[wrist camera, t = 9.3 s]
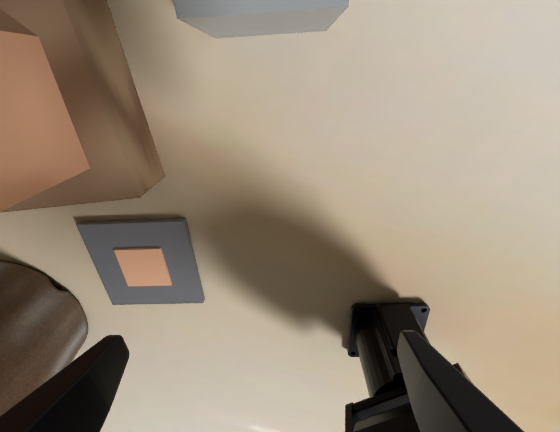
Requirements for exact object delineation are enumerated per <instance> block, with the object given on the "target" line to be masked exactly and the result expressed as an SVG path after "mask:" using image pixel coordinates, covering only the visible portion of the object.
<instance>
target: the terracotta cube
mask: <svg viewBox="0 0 560 432" xmlns="http://www.w3.org/2000/svg"><path fill="white" fill-rule="evenodd" d="M88 169H90V167H89V164H88V161H87V159H86V156H85V154H84V151H83V149H82V146H81V144H80V141H79V139H78V136H77V133H76V131H75V128H74V126H73V123H72V121H71V118H70V116H69V113H68V111H67V108H66V106H65V103H64V100H63V98H62V95H61V93H60V90H59V88H58V85H57V83H56V80H55V78H54V75H53V73H52V70H51V67H50V65H49V62H48V60H47V57H46V55H45V52H44V50H43V47H42V45H41V42H40V39H39V37H38V36H32V35H26V34H19V33H12V32H6V31H0V212H1V211H3V210H5V209H7V208H9V207H11V206H13V205H15V204H17V203H20V202H22V201H24V200H26V199H28V198H30V197H32V196H34V195H36V194H38V193H40V192H42V191H45V190H47V189H49V188H51V187H53V186H55V185H57V184H59V183H61V182H63V181H65V180H67V179H69V178H72V177H74V176H76V175H78V174H80V173H82V172H84V171H86V170H88Z"/></svg>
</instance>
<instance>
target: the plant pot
mask: <svg viewBox="0 0 560 432" xmlns="http://www.w3.org/2000/svg"><path fill="white" fill-rule="evenodd" d="M87 334H88V323H87V318H86V315H85V313H84V311H83V309H82V307H81V305H80V304H79V302H78V301H77V300H76V299H75V298H74V297H73V295H72V294H71V293H70V292H68V291H61V290H58V289H56V288H55V287H54V286H53V285H52V284H51V283H50V281H49V278H48V277H47V276H46V275H44V274H42V273H40V272H38V271H35V270H33V269H30V268H27V267H25V266H21V265H18V264H14V263H10V262H5V261H0V416H1V415H2V414H4V413H5V412H6V411H8V410H9V409H10V408H12V407H13V406H14V405H16V404H17V403H18V402H20V401H21V400H22V399H24V398H25V397H26V396H27V395H29V394H30V393H31V392H33V391H34V390H35V389H37V388H38V387H39V386H41V385H42V384H43V383H45V382H46V381H47V380H49V379H50V378H51V377H53V376H54V375H55V374H57V373H58V372H59V371H61V370H62V369H63V368H65V367H66V366H67V365H69V364H70V363H71V362H72V360H73V359H74V357H75V355H76V354H77V352H78V351H79V349H80V348H81V346H82V345H83V343H84V342H85V340H86V337H87Z"/></svg>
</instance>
